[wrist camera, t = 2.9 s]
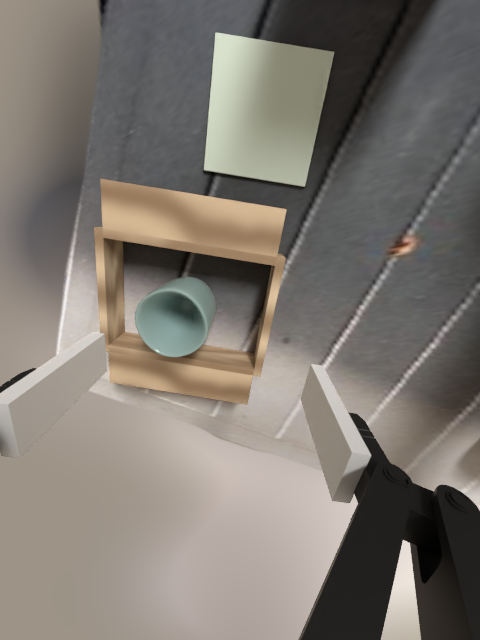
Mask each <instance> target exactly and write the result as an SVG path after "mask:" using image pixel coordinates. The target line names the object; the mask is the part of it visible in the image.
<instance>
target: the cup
mask: <svg viewBox="0 0 480 640" xmlns="http://www.w3.org/2000/svg"><path fill="white" fill-rule="evenodd" d="M216 311H217V306H216V300H215V296H214V294H213V292H212V290H211V289H210V287H209V286H208V285H207V284H206V283H205V282H204V281H202V280H200V279H198V278H195V277H180V278H177V279H174V280H171V281H169V282H167V283H165V284H163V285H162V286H160V287H158V288H157V289H155V290H154V291H152V292H150V293H149V294H148V295H147V296H146V297H145V298H143V299H142V300H141V302H140V303H139V305H138V306H137V309H136V312H135V323H136V327H137V330H138V333H139V334H140V336H141V338H142V339H143V341H144V342H145V343H146V344H147V345H148V346H149V347H150V348H151V349H152V350H153V351H155V352H156V353H158V354H161V355H163V356H167V357H181V356H185V355H188V354H191V353H193V352H195V351H196V350H197V349H199V348H200V347H201V346H202V345H203V343H204V342H205V341H206V339H207V337H208V335H209V333H210V331H211V328H212V326H213V324H214V321H215V316H216Z"/></svg>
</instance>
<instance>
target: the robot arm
mask: <svg viewBox="0 0 480 640" xmlns="http://www.w3.org/2000/svg"><path fill="white" fill-rule="evenodd" d="M106 371H107V368H106V347H105V334H104V333H97V332H92V333H90V334H89V335H87V336H86V337H84V338H83V339H81V340H80V341H78V342H76V343H75V344H73V345H72V346H70V347H69V348H67V349H66V350H64V351H63V352H61V353H60V354H58V355H57V356H55V357H54V358H52V359H51V360H49V361H48V362H47V363H45V364H43V365H42V366H40V367H39V368H37V369H35V368H33V369H30V370H28V371H25V372H23V373H20V374H19V375H17V376H15V377H14V378H12V379H11V380H10V381H7V382H6V383H4V384H3V385H2V386H0V453H1V456H5V457H12V458H21V457H22V456H23V455H24V454H25V453H26V452H27V451H28V450H29V449H30V448H31V447H32V446H33V445H34V444H35V443H36V442H37V441H38V440H39V439H40V438H41V437H42V436H43V435H44V434H45V433H46V432H47V431H48V430H49V429H50V428H51V427H52V426H53V425H54V424H55V423H56V422H57V421H58V420H59V419H60V418H61V417H62V416H63V415H64V414H65V413H66V412H67V411H68V410H69V409H70V407H72V406H73V405H74V404H75V402H77V401H78V400H79V399H80V398H81V396H82V395H84V393H86V392H87V391H88V390H89V389H90V388H91V387H92V386H93V385H94V384H95V382H96V381H97V380H98V379H99V378H100V377H101V376H102V375H103V374H104V373H105V372H106ZM301 401H302V405H303V408H304V411H305V414H306V418H307V421H308V424H309V427H310V430H311V434H312V437H313V440H314V443H315V447H316V450H317V453H318V456H319V460H320V463H321V466H322V469H323V473H324V476H325V479H326V482H327V485H328V489H329V492H330V495H331V498H332V501H339V502H346V503H350V501H351V499H352V497H353V495H354V494H355V496H356V499H357V501H358V506H357V508H356V510H355V512H354V514H353V516H352V518H351V521H350V523H349V526H348V528H347V530H346V533H345V535H344V537H343V539H342V542H341V544H340V547H339V549H338V551H337V553H336V556H335V558H334V560H333V562H332V565H331V567H330V569H329V571H328V574H327V576H326V578H325V581H324V583H323V585H322V587H321V590H320V592H319V594H318V597H317V599H316V601H315V603H314V606H313V608H312V610H311V612H310V615H309V617H308V619H307V622H306V624H305V626H304V629H303V631H302V633H301V636H300V638H299V640H381V635H382V631H383V627H384V622H385V617H386V613H387V609H388V604H389V599H390V595H391V590H392V586H393V581H394V577H395V572H396V568H397V563H398V559H399V554H400V550H401V545H402V541H403V540H405V541H408V542H410V546H411V554H412V563H413V571H414V580H415V589H416V597H417V605H418V615H419V624H420V632H421V640H480V511H479V509H478V508H477V506H476V505H475V504H474V503H473V502H472V501H471V500H470V499H469V498H468V497H467V496H466V495H464V494H463V493H462V492H460V491H458V490H457V489H455V488H453V487H450V486H447V485H439V486H438V487H437V488H436V489H435V491H434V492H433V491H431V490H428V489H426V488H423V487H421V486H418V485H416V484H414V483H412V481H411V479H410V477H409V476H408V475H407V474H406V473H405V472H404V471H403V470H401V469H400V468H399V467H397V466H395V465H393V464H391V463H390V462H389V460H388V459H387V457H386V455H385V454H384V452H383V450H382V449H381V447H380V446H379V444H378V442H377V441H376V439H374V436H373V434H372V432H370V429H369V427H368V426H367V424H366V422H365V421H364V420H363V419H362V418H361V417H360V416H359V415H357V414H354V413H348V411H347V409H346V408H345V406H344V404H343V402H342V400H341V398H340V397H339V395H338V393H337V391H336V389H335V387H334V386H333V384H332V382H331V380H330V378H329V376H328V375H327V373H326V371H325V369H324V367H323V366H321V365H314V364H311V366H310V369H309V372H308V376H307V379H306V383H305V386H304V390H303V393H302V397H301Z"/></svg>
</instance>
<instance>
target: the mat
mask: <svg viewBox="0 0 480 640" xmlns="http://www.w3.org/2000/svg"><path fill="white" fill-rule="evenodd" d="M333 57H334V52H331V51H325V50H319V49H313V48H307V47H301V46H295V45H289V44H283V43H276V42H270V41H264V40H258V39H252V38H246V37H240V36H234V35H228V34H222V33H216V34H215V46H214V57H213V69H212V81H211V92H210V104H209V116H208V127H207V139H206V151H205V162H204V171H210V172H216V173H222V174H228V175H234V176H240V177H246V178H252V179H258V180H265V181H271V182H277V183H283V184H289V185H295V186H301V187H305V184H306V180H307V175H308V170H309V166H310V161H311V157H312V152H313V148H314V143H315V139H316V134H317V130H318V125H319V120H320V116H321V111H322V107H323V102H324V98H325V93H326V89H327V84H328V80H329V75H330V71H331V66H332V61H333Z"/></svg>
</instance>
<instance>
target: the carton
mask: <svg viewBox="0 0 480 640" xmlns="http://www.w3.org/2000/svg"><path fill="white" fill-rule="evenodd" d="M100 181H101V202H102V223H103V227H94V235H95V251H96V268H97V285H98V302H99V319H100V333H104V334H105V347H106V352H109V370H110V382H111V383H118V384H124V385H130V386H136V387H142V388H148V389H154V390H160V391H167V392H173V393H179V394H185V395H191V396H197V397H203V398H209V399H216V400H222V401H228V402H234V403H240V404H246V405H247V403H248V398H249V393H250V388H251V383H252V378H253V376H259V377H260V376H261V371H262V366H263V362H264V357H265V352H266V348H267V343H268V338H269V334H270V329H271V324H272V320H273V315H274V311H275V306H276V301H277V297H278V292H279V287H280V283H281V278H282V273H283V269H284V264H285V259H286V258H285V257H284V256H283V255H282V254H278V250H279V245H280V240H281V235H282V230H283V225H284V220H285V215H286V210H287V209H282V208H276V207H270V206H264V205H257V204H251V203H245V202H239V201H233V200H227V199H221V198H215V197H209V196H203V195H196V194H190V193H184V192H178V191H172V190H166V189H160V188H154V187H148V186H141V185H135V184H129V183H123V182H117V181H111V180H105V179H100ZM123 241H126V242H132V243H139V244H145V245H151V246H157V247H163V248H169V249H175V250H181V251H187V252H194V253H200V254H206V255H212V256H218V257H224V258H230V259H236V260H242V261H249V262H255V263H261V264H267V265H272V266H271V272H270V277H269V282H268V287H267V292H266V297H265V302H264V307H263V312H262V317H261V322H260V327H259V332H258V338H257V343H256V348H255V353H250V352H243V351H237V350H231V349H225V348H219V347H213V346H207V345H202V346H201V347H200V348H199V349H197V350H196V351H195V352H193V353H191V354H188V355H185V356H181V357H167V356H163V355H161V354H158V353H156V352H155V351H153V350H152V349H151V348H150V347H149V346H148V345H147V344H146V343H145V342H144V341H143V339H142V338H141V336H140V335H139V334H133V333H127V332H125V319H124V269H123Z"/></svg>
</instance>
